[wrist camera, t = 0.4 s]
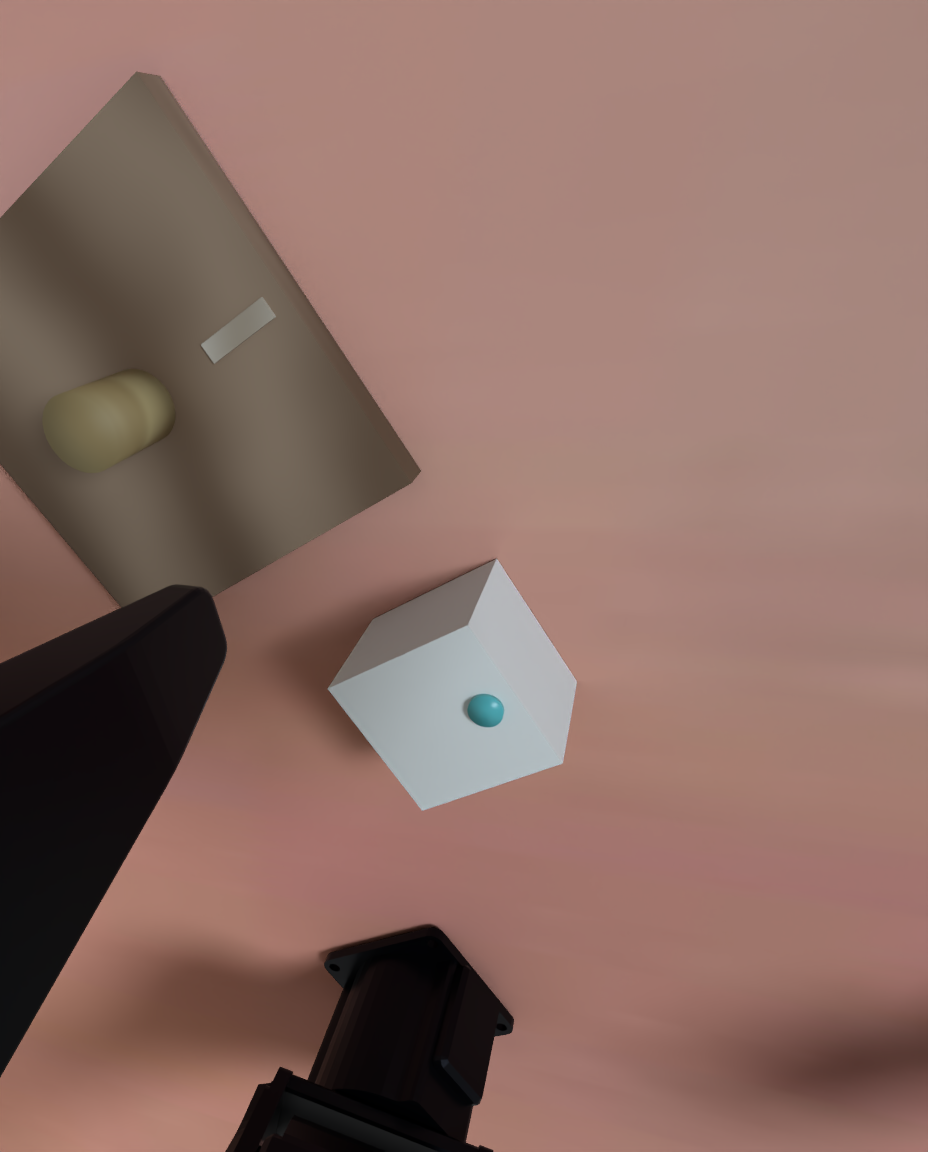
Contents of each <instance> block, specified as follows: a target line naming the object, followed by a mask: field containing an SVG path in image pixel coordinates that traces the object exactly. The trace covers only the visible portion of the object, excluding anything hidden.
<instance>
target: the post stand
mask: <svg viewBox="0 0 928 1152" xmlns="http://www.w3.org/2000/svg"><path fill="white" fill-rule="evenodd" d="M0 464H1V465H2V466H3V468H4V469H5V470H6V471H7V472H8V473H9V475H10V476H11V477H12V478H13V479H14V481H15V482H16V483H17V484H18V485H19V486H20V488H21V489H22V490H23V491H24V492H25V494H26V495H27V496H28V497H29V498H30V500H31V501H32V502H33V503H34V504H35V505H36V507H37V508H38V509H39V510H40V511H41V513H42V514H43V515H44V516H45V517H46V518H47V520H48V521H49V522H50V523H51V524H52V526H53V527H54V528H55V529H56V530H57V532H58V533H59V534H60V535H61V536H62V537H63V539H64V540H65V541H66V542H67V543H68V545H69V546H70V547H71V548H72V549H73V550H74V552H75V553H76V554H77V555H78V556H79V558H80V559H81V560H82V561H83V562H84V564H85V565H86V566H87V567H88V568H89V569H90V571H91V572H92V573H93V574H94V575H95V577H96V578H97V579H98V580H99V581H100V582H101V584H102V585H103V586H104V587H105V588H106V590H107V591H108V592H109V593H110V594H111V596H112V597H113V598H114V599H115V600H116V601H117V603H118V604H119V605H120V606H121V607H124V606H126V605H128V604H131V603H133V602H135V601H137V600H139V599H141V598H144V597H146V596H148V595H150V594H152V593H154V592H157V591H159V590H161V589H163V588H165V587H167V586H170V585H175V584H180V585H190V586H199V587H203V588H205V589H207V590H208V591H209V593H210V594H211V595H212V597H213V596H215V595H217V594H218V593H220V592H222V591H224V590H225V589H227V588H229V587H231V586H232V585H234V584H236V583H238V582H239V581H241V580H243V579H245V578H246V577H248V576H250V575H252V574H253V573H255V572H257V571H259V570H260V569H262V568H264V567H266V566H267V565H269V564H271V563H273V562H274V561H276V560H278V559H280V558H281V557H283V556H285V555H287V554H288V553H290V552H292V551H294V550H295V549H297V548H299V547H300V546H302V545H304V544H306V543H307V542H309V541H311V540H313V539H314V538H316V537H318V536H320V535H321V534H323V533H325V532H327V531H328V530H330V529H332V528H334V527H335V526H337V525H339V524H341V523H342V522H344V521H346V520H348V519H349V518H351V517H353V516H355V515H356V514H358V513H360V512H362V511H363V510H365V509H367V508H369V507H370V506H372V505H374V504H376V503H377V502H379V501H381V500H383V499H384V498H386V497H388V496H390V495H391V494H393V493H395V492H397V491H398V490H400V489H402V488H404V487H405V486H407V485H409V484H411V483H412V482H413V481H414V479H415V478H416V477H417V476H418V474H419V473H420V472H421V470H420V469H419V467H418V466H417V464H416V463H415V461H414V460H413V458H412V457H411V455H410V454H409V452H408V450H407V449H406V447H405V446H404V444H403V443H402V441H401V440H400V438H399V437H398V435H397V434H396V432H395V431H394V429H393V428H392V426H391V425H390V423H389V422H388V420H387V419H386V417H385V416H384V414H383V413H382V411H381V410H380V408H379V407H378V405H377V404H376V402H375V401H374V399H373V398H372V396H371V394H370V393H369V391H368V390H367V388H366V387H365V385H364V384H363V382H362V381H361V379H360V378H359V376H358V375H357V373H356V372H355V370H354V369H353V367H352V366H351V364H350V363H349V361H348V360H347V358H346V357H345V355H344V354H343V352H342V351H341V349H340V348H339V346H338V345H337V343H336V342H335V340H334V339H333V337H332V335H331V334H330V332H329V331H328V329H327V328H326V326H325V325H324V323H323V322H322V320H321V319H320V317H319V316H318V314H317V313H316V311H315V310H314V308H313V307H312V305H311V304H310V302H309V301H308V299H307V298H306V296H305V295H304V293H303V292H302V290H301V289H300V287H299V286H298V284H297V283H296V281H295V280H294V278H293V276H292V275H291V273H290V272H289V270H288V269H287V267H286V266H285V264H284V263H283V261H282V260H281V258H280V257H279V255H278V254H277V252H276V251H275V249H274V248H273V246H272V245H271V243H270V242H269V240H268V239H267V237H266V236H265V234H264V233H263V231H262V230H261V228H260V227H259V225H258V224H257V222H256V221H255V219H254V217H253V216H252V214H251V213H250V211H249V210H248V208H247V207H246V205H245V204H244V202H243V201H242V199H241V198H240V196H239V195H238V193H237V192H236V190H235V189H234V187H233V186H232V184H231V183H230V181H229V180H228V178H227V177H226V175H225V174H224V172H223V171H222V169H221V168H220V166H219V165H218V163H217V161H216V160H215V158H214V157H213V155H212V154H211V152H210V151H209V149H208V148H207V146H206V145H205V143H204V142H203V140H202V139H201V137H200V136H199V134H198V133H197V131H196V130H195V128H194V127H193V125H192V124H191V122H190V121H189V119H188V118H187V116H186V115H185V113H184V112H183V110H182V109H181V107H180V106H179V104H178V102H177V101H176V99H175V98H174V96H173V95H172V93H171V92H170V90H169V89H168V87H167V86H166V84H165V83H164V81H163V80H162V78H161V77H160V76H157V75H152V74H146V73H141V72H136V73H135V74H134V75H133V76H132V77H131V78H130V79H129V80H128V81H127V82H126V83H125V85H124V86H123V87H122V88H121V89H120V90H119V91H118V92H117V93H116V94H115V95H114V96H113V97H112V99H111V100H110V101H109V102H108V103H107V104H106V105H105V106H104V107H103V108H102V109H101V110H100V111H99V112H98V114H97V115H96V116H95V117H94V118H93V119H92V120H91V121H90V122H89V123H88V124H87V125H86V126H85V128H84V129H83V130H82V131H81V132H80V133H79V134H78V135H77V136H76V137H75V138H74V139H73V140H72V141H71V143H70V144H69V145H68V146H67V147H66V148H65V149H64V150H63V151H62V152H61V153H60V154H59V155H58V157H57V158H56V159H55V160H54V161H53V162H52V163H51V164H50V165H49V166H48V167H47V168H46V169H45V170H44V172H43V173H42V174H41V175H40V176H39V177H38V178H37V179H36V180H35V181H34V182H33V183H32V184H31V186H30V187H29V188H28V189H27V190H26V191H25V192H24V193H23V194H22V195H21V196H20V197H19V198H18V199H17V201H16V202H15V203H14V204H13V205H12V206H11V207H10V208H9V209H8V210H7V211H6V212H5V213H4V215H3V216H2V217H1V218H0Z"/></svg>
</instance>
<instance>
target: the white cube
mask: <svg viewBox="0 0 928 1152" xmlns="http://www.w3.org/2000/svg"><path fill="white" fill-rule="evenodd" d="M576 685H577V681H576V679H575V678H574V676H573V675H572V673H571V672H570V670H569V668H568V667H567V665H566V664H565V662H564V661H563V659H562V658H561V656H560V655H559V653H558V652H557V650H556V649H555V647H554V646H553V644H552V642H551V641H550V639H549V638H548V636H547V635H546V633H545V632H544V630H543V629H542V627H541V626H540V624H539V623H538V621H537V619H536V618H535V616H534V615H533V613H532V612H531V610H530V609H529V607H528V606H527V604H526V603H525V601H524V600H523V598H522V596H521V595H520V593H519V592H518V590H517V589H516V587H515V586H514V584H513V583H512V581H511V580H510V578H509V577H508V575H507V574H506V572H505V570H504V569H503V567H502V566H501V564H500V563H499V561H498V560H497V559H495V560H493V561H491V562H489V563H487V564H485V565H483V566H480V567H478V568H476V569H474V570H472V571H470V572H468V573H466V574H464V575H462V576H460V577H458V578H456V579H454V580H452V581H450V582H448V583H446V584H444V585H442V586H440V587H438V588H436V589H433V590H431V591H429V592H427V593H425V594H423V595H421V596H419V597H417V598H415V599H413V600H411V601H409V602H407V603H405V604H403V605H401V606H399V607H397V608H395V609H393V610H391V611H388V612H386V613H384V614H382V615H380V616H378V617H376V618H374V619H373V620H372V621H371V623H370V624H369V626H368V627H367V629H366V630H365V632H364V634H363V635H362V637H361V638H360V640H359V641H358V643H357V644H356V646H355V647H354V649H353V650H352V652H351V653H350V655H349V657H348V658H347V660H346V661H345V663H344V664H343V666H342V667H341V669H340V670H339V672H338V673H337V675H336V676H335V678H334V680H333V681H332V683H331V684H330V686H329V687H328V690H329V691H330V693H331V694H332V695H333V696H334V698H335V699H336V700H337V702H338V703H339V704H340V705H341V707H342V708H343V709H344V711H345V712H346V713H347V714H348V716H349V717H350V718H351V720H352V721H353V722H354V723H355V725H356V726H357V727H358V729H359V730H360V731H361V732H362V734H363V735H364V736H365V738H366V739H367V740H368V741H369V743H370V744H371V745H372V747H373V748H374V749H375V750H376V752H377V753H378V754H379V756H380V757H381V758H382V759H383V761H384V762H385V763H386V765H387V766H388V767H389V768H390V770H391V771H392V772H393V774H394V775H395V776H396V777H397V779H398V780H399V781H400V783H401V784H402V785H403V787H404V788H405V789H406V790H407V792H408V793H409V794H410V796H411V797H412V798H413V799H414V801H415V802H416V803H417V805H418V806H419V807H420V808H421V810H422V811H423V810H426V809H429V808H432V807H435V806H438V805H441V804H444V803H447V802H450V801H453V800H456V799H459V798H462V797H465V796H468V795H471V794H474V793H477V792H479V791H482V790H485V789H488V788H491V787H494V786H497V785H500V784H503V783H506V782H509V781H512V780H515V779H518V778H521V777H524V776H527V775H530V774H533V773H536V772H539V771H542V770H545V769H548V768H551V767H554V766H557V765H560V764H563V759H564V754H565V748H566V742H567V736H568V731H569V725H570V719H571V713H572V708H573V702H574V696H575V690H576Z"/></svg>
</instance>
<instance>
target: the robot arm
mask: <svg viewBox="0 0 928 1152" xmlns="http://www.w3.org/2000/svg"><path fill="white" fill-rule="evenodd" d="M226 652H227V643H226V638H225V634H224V631H223V628H222V625H221V622H220V619H219V616H218V613H217V609H216V606H215V603H214V600H213V597H212V595H211V594H210V593H209V591H208V590H207V589H205V588H203V587H199V586H190V585H180V584H175V585H170V586H167V587H165V588H163V589H161V590H159V591H157V592H154V593H152V594H150V595H148V596H146V597H144V598H141V599H139V600H137V601H135V602H133V603H131V604H128V605H126V606H124V607H122V608H120V609H118V610H115V611H113V612H111V613H109V614H107V615H104V616H102V617H100V618H98V619H96V620H94V621H91V622H89V623H87V624H85V625H83V626H81V627H78V628H76V629H74V630H72V631H70V632H68V633H65V634H63V635H61V636H59V637H57V638H55V639H52V640H50V641H48V642H46V643H44V644H42V645H39V646H37V647H35V648H33V649H31V650H28V651H26V652H24V653H22V654H20V655H18V656H15V657H13V658H11V659H9V660H7V661H5V662H2V663H0V1077H1V1075H2V1073H3V1072H4V1070H5V1068H6V1066H7V1065H8V1063H9V1061H10V1059H11V1058H12V1056H13V1054H14V1052H15V1051H16V1049H17V1047H18V1045H19V1044H20V1042H21V1040H22V1038H23V1037H24V1035H25V1033H26V1031H27V1030H28V1028H29V1026H30V1025H31V1023H32V1021H33V1019H34V1018H35V1016H36V1014H37V1012H38V1011H39V1009H40V1007H41V1005H42V1004H43V1002H44V1000H45V998H46V997H47V995H48V993H49V991H50V990H51V988H52V986H53V984H54V983H55V981H56V979H57V977H58V976H59V974H60V972H61V970H62V969H63V967H64V965H65V963H66V962H67V960H68V958H69V956H70V955H71V953H72V951H73V949H74V948H75V946H76V944H77V942H78V941H79V939H80V937H81V935H82V934H83V932H84V930H85V928H86V927H87V925H88V923H89V921H90V920H91V918H92V916H93V914H94V913H95V911H96V909H97V907H98V906H99V904H100V902H101V900H102V899H103V897H104V895H105V893H106V892H107V890H108V888H109V886H110V885H111V883H112V881H113V879H114V878H115V876H116V874H117V873H118V871H119V869H120V867H121V866H122V864H123V862H124V860H125V859H126V857H127V855H128V853H129V852H130V850H131V848H132V846H133V845H134V843H135V841H136V839H137V838H138V836H139V834H140V832H141V831H142V829H143V827H144V825H145V824H146V822H147V820H148V818H149V817H150V815H151V813H152V811H153V810H154V808H155V806H156V804H157V803H158V801H159V799H160V797H161V796H162V794H163V792H164V790H165V789H166V787H167V785H168V783H169V781H170V779H171V778H172V776H173V774H174V772H175V770H176V768H177V766H178V764H179V762H180V760H181V758H182V756H183V754H184V752H185V749H186V747H187V745H188V743H189V740H190V738H191V736H192V734H193V731H194V729H195V727H196V724H197V722H198V720H199V718H200V715H201V713H202V711H203V709H204V706H205V704H206V702H207V700H208V697H209V695H210V693H211V691H212V688H213V686H214V684H215V682H216V679H217V677H218V675H219V672H220V670H221V668H222V666H223V663H224V661H225V657H226ZM324 966H325V968H326V970H327V971H328V972H329V973H330V974H331V975H332V976H333V978H334V979H335V980H336V981H337V982H338V983H339V984H340V985H341V986H342V988H343V991H342V993H341V996H340V998H339V1001H338V1003H337V1006H336V1009H335V1011H334V1014H333V1016H332V1019H331V1021H330V1024H329V1026H328V1029H327V1031H326V1034H325V1036H324V1039H323V1042H322V1044H321V1047H320V1049H319V1052H318V1054H317V1057H316V1059H315V1062H314V1064H313V1067H312V1069H311V1072H310V1075H309V1077H308V1080H305V1079H303V1078H300V1077H298V1076H295V1075H293V1071H290V1070H288V1069H285V1068H283V1067H280V1068H279V1070H278V1072H277V1074H276V1076H275V1078H274V1080H273V1081H272V1082H271V1083H266V1084H259V1085H258V1087H257V1089H256V1091H255V1093H254V1096H253V1098H252V1100H251V1102H250V1105H249V1107H248V1109H247V1111H246V1113H245V1116H244V1118H243V1120H242V1122H241V1124H240V1126H239V1128H238V1130H237V1132H236V1134H235V1136H234V1138H233V1139H232V1141H231V1143H230V1145H229V1146H228V1148H227V1150H226V1151H225V1152H493V1150H491V1149H489V1148H486V1147H484V1146H481V1145H479V1147H476V1146H473V1145H471V1144H468V1143H466V1138H467V1133H468V1128H469V1123H470V1119H471V1114H472V1109H473V1106H474V1105H478V1104H480V1101H481V1099H482V1096H483V1091H484V1086H485V1081H486V1076H487V1071H488V1066H489V1061H490V1056H491V1050H492V1045H493V1040H494V1037H495V1036H500V1035H506V1034H510V1033H511V1032H512V1030H513V1024H514V1019H513V1017H512V1016H511V1014H510V1013H509V1012H508V1011H507V1009H506V1008H505V1007H504V1006H503V1005H502V1003H501V1002H500V1001H499V1000H498V998H497V997H496V996H495V995H494V994H493V992H492V991H491V990H490V989H489V987H488V986H487V985H486V984H485V983H484V981H483V980H482V979H481V978H480V976H479V975H478V974H477V973H476V971H475V970H474V969H473V968H472V967H471V965H470V964H469V963H468V962H467V960H466V959H465V958H464V957H463V956H462V954H461V953H460V952H459V951H458V949H457V948H456V947H455V946H454V945H453V943H452V942H451V941H450V940H449V938H448V937H447V936H446V935H445V934H444V933H443V932H442V931H441V930H439V929H437V928H426V929H422V930H418V931H414V932H410V933H406V934H402V935H398V936H395V937H391V938H387V939H383V940H379V941H375V942H371V943H367V944H363V945H359V946H355V947H351V948H347V949H343V950H339V951H335V952H331V953H329V954H328V956H327V959H326V961H325V963H324Z"/></svg>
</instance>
